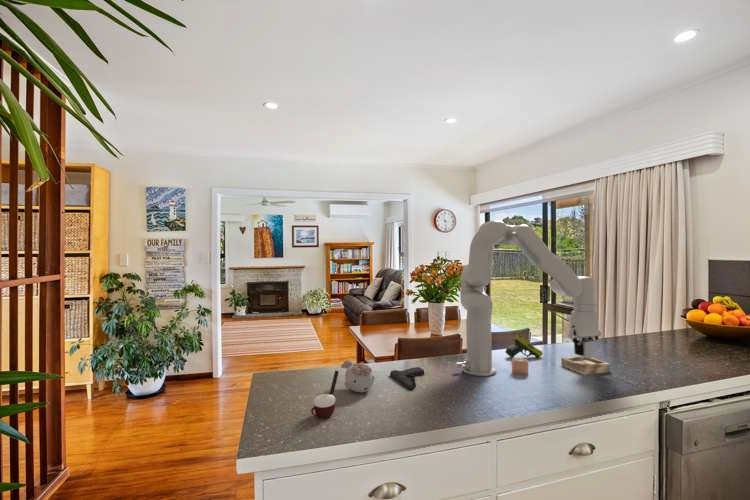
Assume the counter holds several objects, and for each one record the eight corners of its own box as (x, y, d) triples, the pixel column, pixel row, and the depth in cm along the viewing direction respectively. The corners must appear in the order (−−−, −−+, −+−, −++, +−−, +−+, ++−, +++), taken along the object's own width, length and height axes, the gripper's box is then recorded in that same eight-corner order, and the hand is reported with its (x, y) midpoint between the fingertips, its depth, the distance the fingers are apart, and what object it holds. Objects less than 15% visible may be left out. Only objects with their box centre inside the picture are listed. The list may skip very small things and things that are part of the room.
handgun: (417, 366, 155) (387, 371, 150) (441, 380, 138) (408, 385, 134) (418, 371, 155) (387, 376, 150) (442, 386, 138) (409, 392, 134)
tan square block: (517, 376, 147) (517, 362, 147) (508, 371, 153) (508, 358, 153) (531, 374, 148) (531, 361, 148) (522, 370, 154) (522, 357, 154)
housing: (574, 353, 156) (573, 336, 156) (584, 352, 157) (584, 335, 157) (585, 357, 150) (585, 340, 150) (596, 356, 151) (596, 339, 151)
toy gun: (530, 371, 170) (544, 353, 170) (504, 352, 170) (518, 334, 170) (528, 369, 172) (541, 351, 172) (502, 351, 173) (516, 333, 172)
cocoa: (312, 423, 111) (310, 382, 110) (308, 413, 117) (306, 374, 116) (344, 416, 114) (342, 376, 113) (339, 407, 120) (337, 369, 119)
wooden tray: (583, 374, 147) (583, 366, 147) (561, 365, 158) (561, 357, 158) (610, 371, 149) (610, 363, 149) (586, 363, 161) (586, 355, 161)
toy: (352, 398, 127) (351, 368, 127) (335, 384, 141) (334, 357, 141) (379, 393, 132) (379, 363, 132) (360, 380, 146) (360, 353, 146)
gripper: (594, 305, 159) (595, 349, 159) (558, 307, 155) (559, 353, 155) (609, 307, 152) (610, 354, 152) (572, 310, 148) (573, 358, 148)
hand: (585, 353), depth 154 cm, fingers closed on housing, 5 cm apart
